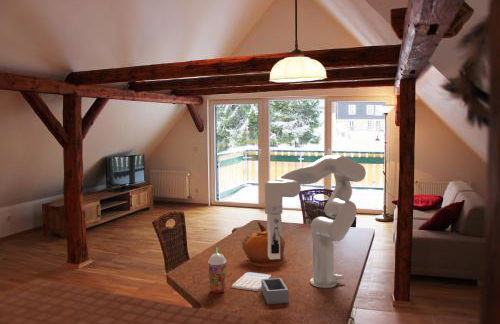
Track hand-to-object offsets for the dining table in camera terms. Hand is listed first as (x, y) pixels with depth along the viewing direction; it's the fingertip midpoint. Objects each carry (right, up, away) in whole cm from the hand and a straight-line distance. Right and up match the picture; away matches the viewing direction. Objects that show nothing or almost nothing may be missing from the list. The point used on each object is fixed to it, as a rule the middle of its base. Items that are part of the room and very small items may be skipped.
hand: (274, 251), depth 168 cm
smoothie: (-25, -20, +9) cm, 33 cm away
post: (0, -3, 0) cm, 3 cm away
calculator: (-9, -20, +19) cm, 29 cm away
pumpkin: (-1, -17, +52) cm, 55 cm away
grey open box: (0, -20, +1) cm, 20 cm away
